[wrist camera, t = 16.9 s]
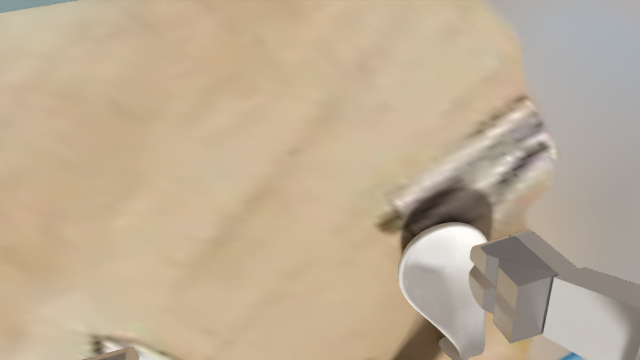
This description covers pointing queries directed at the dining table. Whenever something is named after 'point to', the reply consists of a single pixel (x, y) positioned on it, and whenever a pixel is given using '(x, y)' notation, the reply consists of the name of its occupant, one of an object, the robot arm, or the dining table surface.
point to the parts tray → (26, 4)
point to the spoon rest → (445, 285)
